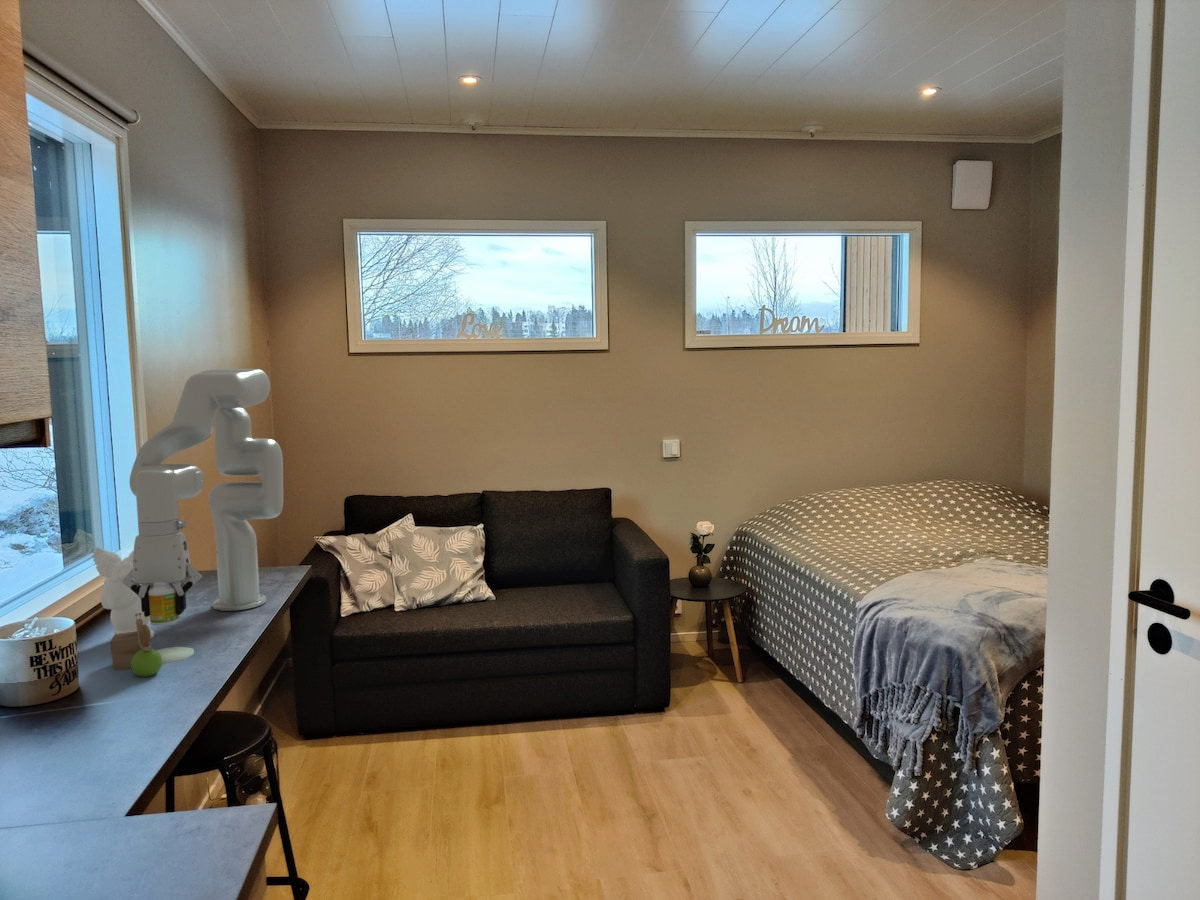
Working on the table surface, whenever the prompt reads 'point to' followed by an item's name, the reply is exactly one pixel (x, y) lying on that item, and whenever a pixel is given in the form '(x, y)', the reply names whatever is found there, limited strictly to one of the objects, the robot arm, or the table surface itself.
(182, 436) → the robot arm
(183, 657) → the felt coaster
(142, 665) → the snail figurine
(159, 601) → the supplement bottle
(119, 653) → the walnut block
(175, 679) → the table surface
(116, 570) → the cherub figurine
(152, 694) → the table surface
